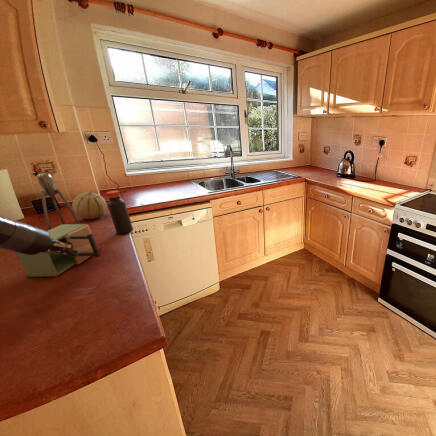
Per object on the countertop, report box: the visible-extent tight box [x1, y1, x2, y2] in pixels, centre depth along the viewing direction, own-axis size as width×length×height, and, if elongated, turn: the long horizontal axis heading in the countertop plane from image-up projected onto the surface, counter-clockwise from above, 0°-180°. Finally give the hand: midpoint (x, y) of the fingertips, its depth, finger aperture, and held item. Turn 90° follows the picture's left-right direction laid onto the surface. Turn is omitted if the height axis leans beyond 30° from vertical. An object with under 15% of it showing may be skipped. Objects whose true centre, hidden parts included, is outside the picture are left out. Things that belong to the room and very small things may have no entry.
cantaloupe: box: [71, 191, 108, 220], centre depth 134 cm, size 15×15×15 cm
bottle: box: [105, 190, 134, 235], centre depth 114 cm, size 7×7×20 cm
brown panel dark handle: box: [65, 227, 101, 265], centre depth 92 cm, size 9×9×12 cm
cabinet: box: [15, 223, 93, 278], centre depth 90 cm, size 11×18×12 cm, turn 179°
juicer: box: [36, 172, 81, 230], centre depth 111 cm, size 10×11×30 cm
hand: (75, 253), depth 82 cm, fingers closed
